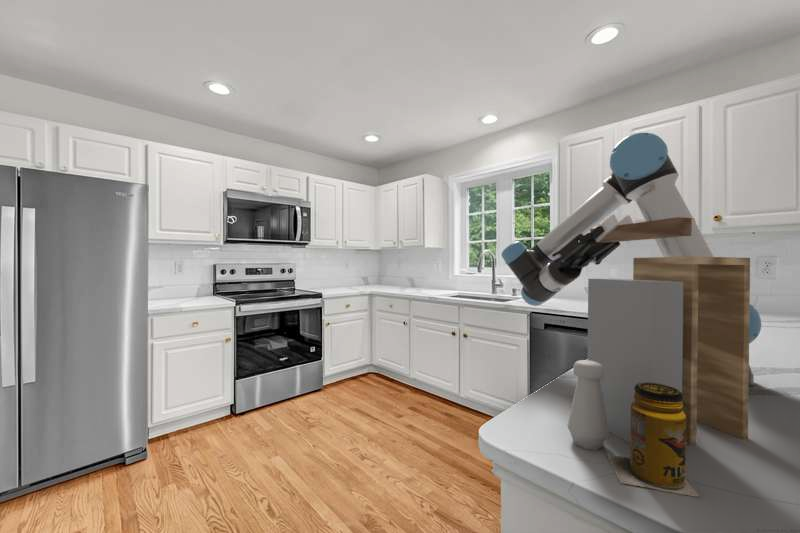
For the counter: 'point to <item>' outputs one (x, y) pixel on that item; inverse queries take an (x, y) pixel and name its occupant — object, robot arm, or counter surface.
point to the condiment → (656, 441)
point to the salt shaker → (588, 407)
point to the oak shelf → (710, 337)
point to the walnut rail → (650, 230)
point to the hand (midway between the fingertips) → (623, 220)
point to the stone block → (634, 340)
